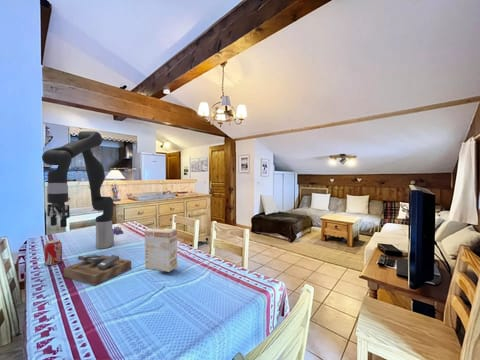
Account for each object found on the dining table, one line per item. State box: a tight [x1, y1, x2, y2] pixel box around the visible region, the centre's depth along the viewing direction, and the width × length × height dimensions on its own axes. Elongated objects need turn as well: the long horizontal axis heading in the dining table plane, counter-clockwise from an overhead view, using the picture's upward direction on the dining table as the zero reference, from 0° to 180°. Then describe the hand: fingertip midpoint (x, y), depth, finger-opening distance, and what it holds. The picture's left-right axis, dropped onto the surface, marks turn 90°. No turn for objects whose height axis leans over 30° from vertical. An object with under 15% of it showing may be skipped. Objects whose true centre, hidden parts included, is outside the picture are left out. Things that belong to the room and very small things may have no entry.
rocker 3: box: [97, 254, 121, 270], centre depth 99 cm, size 8×4×2 cm, turn 157°
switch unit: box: [63, 254, 132, 286], centre depth 102 cm, size 18×22×5 cm
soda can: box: [43, 239, 63, 266], centre depth 113 cm, size 7×7×12 cm
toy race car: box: [112, 226, 124, 236], centre depth 164 cm, size 10×15×6 cm, turn 141°
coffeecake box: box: [144, 226, 178, 273], centre depth 107 cm, size 15×7×20 cm, turn 71°
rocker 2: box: [87, 257, 108, 263], centre depth 101 cm, size 8×4×2 cm, turn 157°
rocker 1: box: [77, 254, 100, 262], centre depth 104 cm, size 8×4×2 cm, turn 157°
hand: (58, 226), depth 100 cm, fingers open, 8 cm apart
